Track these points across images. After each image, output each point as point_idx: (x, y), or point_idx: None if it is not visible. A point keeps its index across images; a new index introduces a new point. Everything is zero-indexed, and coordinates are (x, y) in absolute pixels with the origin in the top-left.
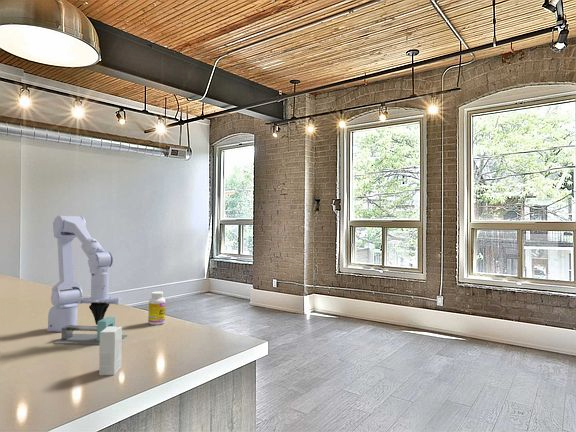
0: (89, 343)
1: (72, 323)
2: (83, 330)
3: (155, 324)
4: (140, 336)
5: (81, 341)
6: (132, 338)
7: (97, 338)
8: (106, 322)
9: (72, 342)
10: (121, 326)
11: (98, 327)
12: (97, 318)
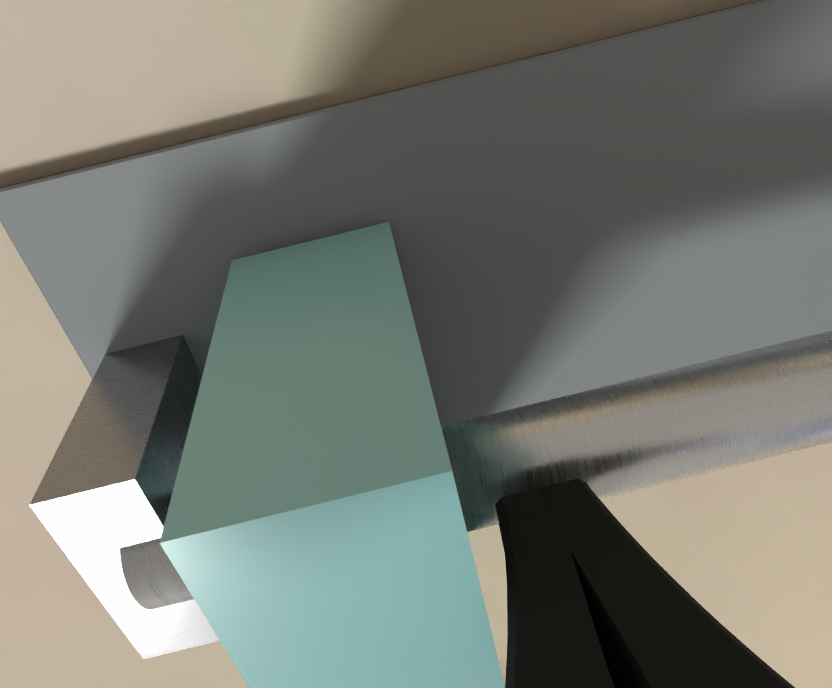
0: (458, 101)
1: None
2: (799, 339)
3: None
4: (31, 624)
5: (671, 153)
6: (50, 541)
7: (385, 243)
8: (181, 542)
9: (802, 52)
10: (137, 649)
11: (388, 365)
12: (580, 610)
